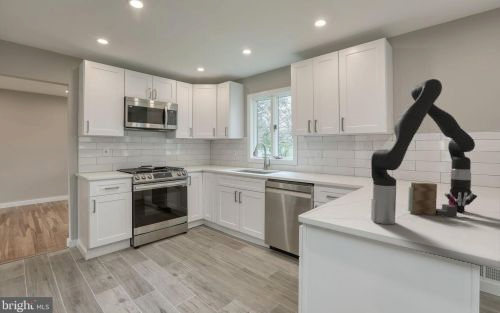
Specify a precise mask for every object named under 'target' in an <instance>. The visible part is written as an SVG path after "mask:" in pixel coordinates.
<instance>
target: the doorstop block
mask: <svg viewBox="0 0 500 313" xmlns="http://www.w3.org/2000/svg"><path fill="white" fill-rule="evenodd" d="M436 217H446V218H458V212H457V207H456V206H453V205H450V204H449V203H448V204H446V203H444V204H443V203H442V204H441V208H436Z"/></svg>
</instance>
